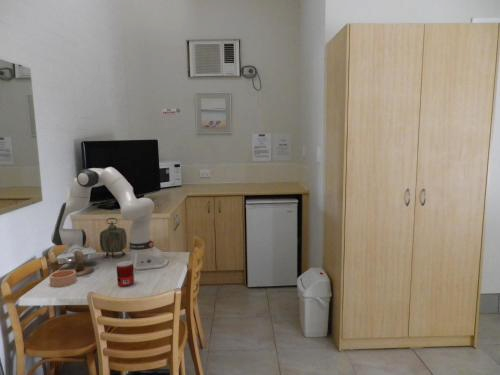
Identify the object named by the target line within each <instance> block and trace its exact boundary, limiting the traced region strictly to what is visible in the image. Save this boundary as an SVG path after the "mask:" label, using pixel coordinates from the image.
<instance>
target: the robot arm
mask: <svg viewBox="0 0 500 375" xmlns="http://www.w3.org/2000/svg"><path fill="white" fill-rule="evenodd" d="M103 186H105V187H106V188H107V190H108V191H109V192H110V193H111V194H112V195H113V196H114V198H115V199H116V201H117V202H118V204H119V207H120V215H121V217H122V218H123V219H124V220H126V221H132V222H131V225H130V227H129V241H130V242H129V247H128V248H129V253H130V255H129V261H132V262H133V270H134V271H136V270H137V271H140V270H150V269H160V268H165V267H166V266H167V265H168V264H169V260H168V258H165V256H164V255H165V254H164V252H163V251H161V250H160V249H159V248H158V247H156V246H154V243H155V242H154V240H151V238H150V237H151V236H150V224H151V219H152V214H153V211H154V210H155V203H154V201H153V200H152V199H151V198H148V197H141V198H140V197H139V198H137V197H136V195H135V193H134V187H133V186H132V185H131V183H130V182H128V180H127V179H126V177H125V176H124V175H122V173H120V172H119V171H118V170H117V169H116V168H115V167H112V166H109V167H108V166H107V167H97V168H96V167H92V168H84V169H82V170H80V171H78V173H77V176H76V177H75V178H74V179H73V180H72V183H71V186H70V190H69V192H70V193H69V197H68V199H67V200H66V201H65V202H63V203H62V205H61V207H60V210H59V213H58V216H57V220H56V222H55V226H54V229H53V230H52V233H51V237H50V239H51V243H52V244H54V246H63V245H64V246H65V245H66V247H65V253H62V254H59V255H58V256H57V257H56V260H57V264H59V265H62V264H66V263H68V264H71V263H75V258H74V253H76V252H83V259H84V261H85V260H86V261H87V260H88V261H89V260H90V259H96V258H97V256H98V254H97V250H96V249H94V248H93V247H92V246H85V245H86V242H87V234H86V232H85V230H84V229H82V228H64V225H65V223H66V222H65V221H66V218H67V217H68V215H70V214H73V213H74V212H75V213H76V212H80V211H82V210H84V209H85V208H87V206H88V205H89V203H90V199H91V191H92V188H97V187H103Z"/></svg>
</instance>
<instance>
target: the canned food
mask: <svg viewBox="0 0 500 375" xmlns="http://www.w3.org/2000/svg"><path fill="white" fill-rule="evenodd" d="M134 271H135V270H134V268H133V262H132V261H130V260H124V261H120V262H117V263H116V278H117V279H116V280H117V286H118V287H121V288H125V287H131V286H132V285H134V283H135V276H134V275H135V274H134Z"/></svg>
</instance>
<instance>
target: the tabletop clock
mask: <svg viewBox="0 0 500 375" xmlns="http://www.w3.org/2000/svg"><path fill="white" fill-rule="evenodd" d="M109 220H115V221H116V222H113V221H111V222H108V221H109ZM106 224H108V225H109V226H108V227H107V228H105V229H104V230H102V231H100V234H99V245H100V250H101V251H102V252H104V253H105V255H106V256H108V255H109V253H112V255H111V257H112V258H115V255H114V253H119V252H121V253H122V255H123V256H125V255H126V252H124V251H123V250H124V249H125V248H127V245H128V244H127V242H128V238H127V232H126V229H125V228H123V227H117V224H118V219H117V218H115V217H108V218H107V219H106Z"/></svg>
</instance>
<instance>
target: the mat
mask: <svg viewBox="0 0 500 375" xmlns="http://www.w3.org/2000/svg"><path fill="white" fill-rule="evenodd" d="M92 267H93V268H94V271H93V272H92V273H90V274H88V275H84V276H78V277H77V278H89V277H91V276H92V275H93V274H94V273H95V272H97V271H98V270H99V269H100V266H92ZM72 268H73V267H71V268H70V269H72Z"/></svg>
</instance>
